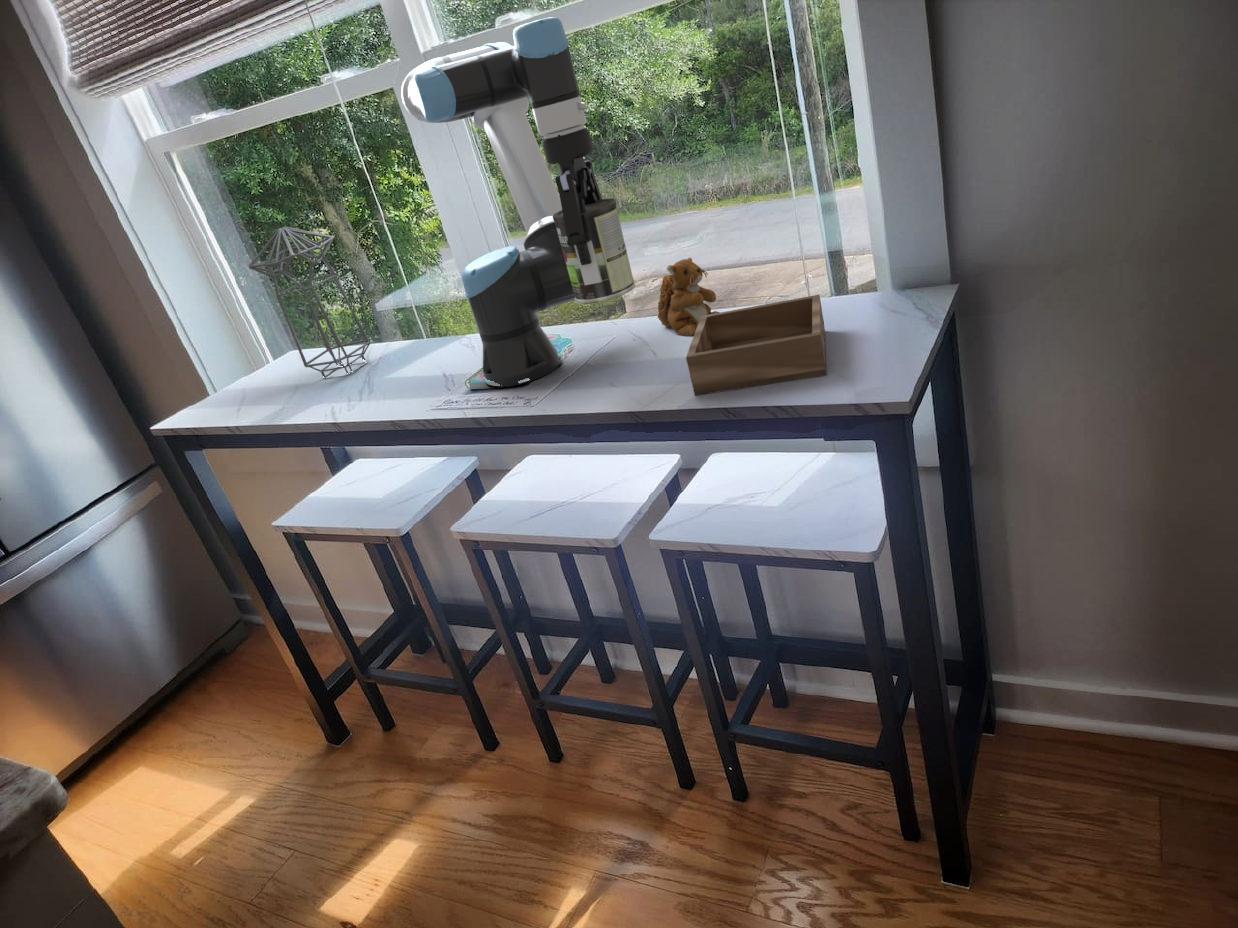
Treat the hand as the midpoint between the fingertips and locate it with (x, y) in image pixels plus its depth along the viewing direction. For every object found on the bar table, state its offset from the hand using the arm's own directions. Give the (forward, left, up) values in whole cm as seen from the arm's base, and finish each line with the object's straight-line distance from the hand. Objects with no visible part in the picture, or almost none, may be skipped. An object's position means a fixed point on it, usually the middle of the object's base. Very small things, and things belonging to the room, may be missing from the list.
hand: (600, 274), depth 139 cm
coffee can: (0, 0, -4) cm, 4 cm away
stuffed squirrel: (-28, +7, -20) cm, 35 cm away
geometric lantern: (-40, -80, -20) cm, 91 cm away
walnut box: (0, +23, -19) cm, 30 cm away
